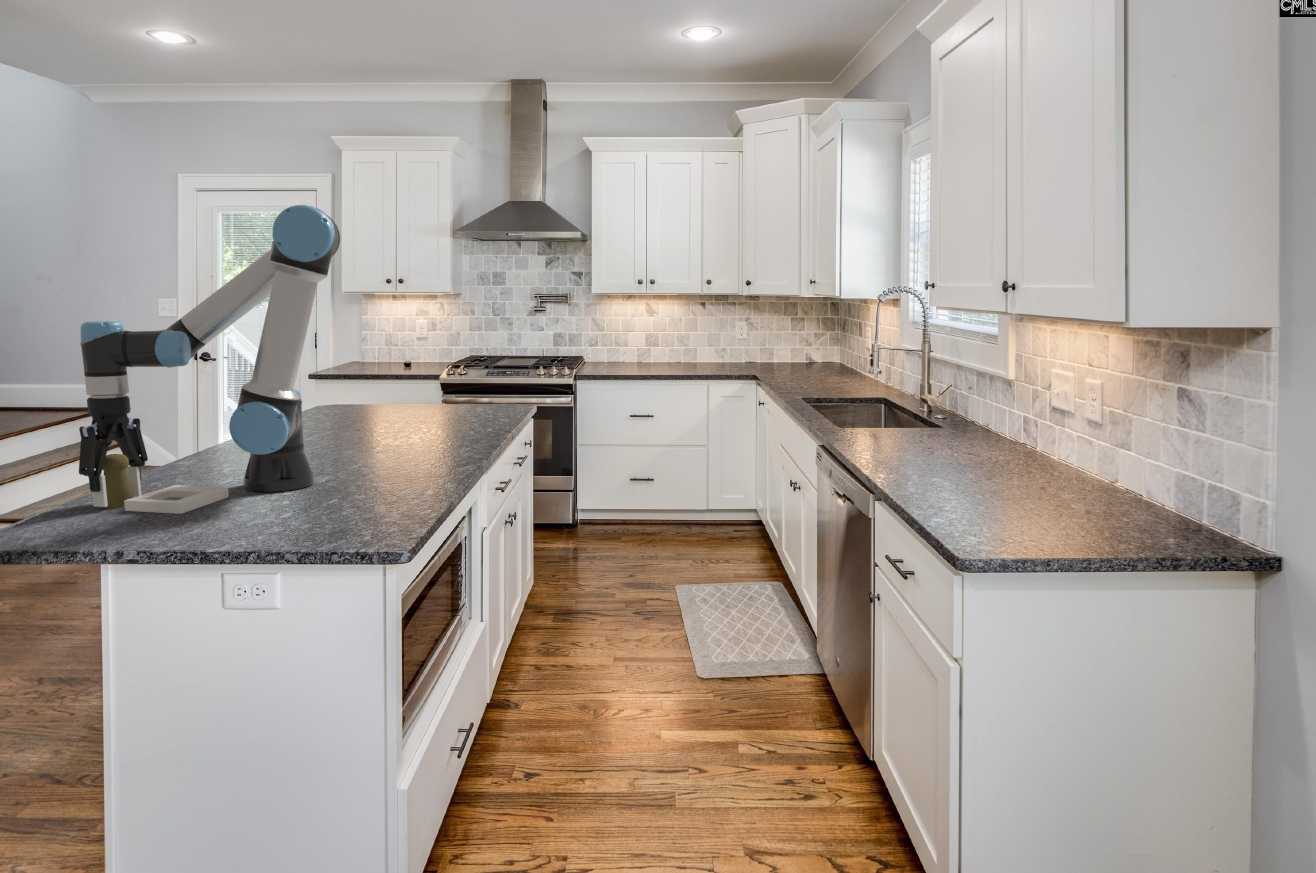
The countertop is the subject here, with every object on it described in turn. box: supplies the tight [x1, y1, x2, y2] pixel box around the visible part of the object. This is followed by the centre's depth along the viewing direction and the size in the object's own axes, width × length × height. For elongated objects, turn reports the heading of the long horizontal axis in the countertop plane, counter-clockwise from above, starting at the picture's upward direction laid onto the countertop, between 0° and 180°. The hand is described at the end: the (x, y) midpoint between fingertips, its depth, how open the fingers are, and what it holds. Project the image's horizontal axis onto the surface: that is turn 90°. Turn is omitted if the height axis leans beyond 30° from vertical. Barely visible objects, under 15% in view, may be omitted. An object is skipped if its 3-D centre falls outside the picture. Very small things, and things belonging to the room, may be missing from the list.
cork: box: [101, 453, 134, 510], centre depth 180 cm, size 6×6×11 cm
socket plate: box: [124, 484, 229, 514], centre depth 183 cm, size 15×13×2 cm
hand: (118, 500), depth 181 cm, fingers open, 9 cm apart
